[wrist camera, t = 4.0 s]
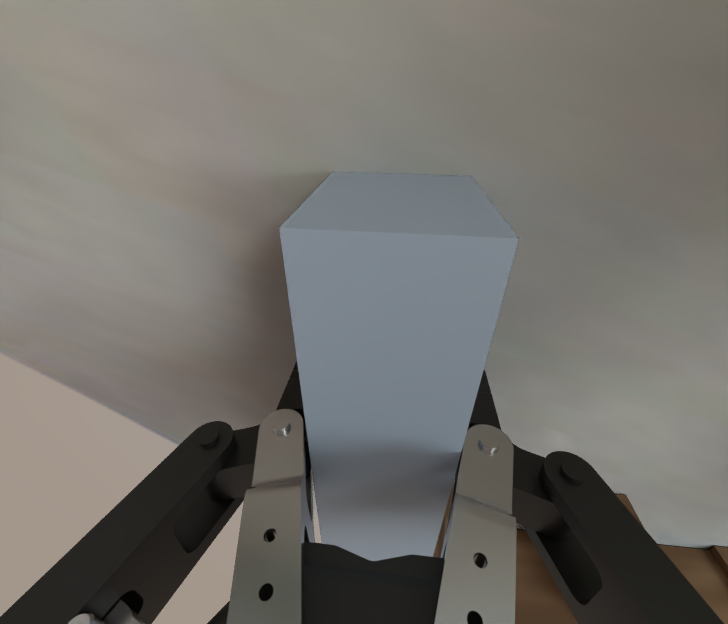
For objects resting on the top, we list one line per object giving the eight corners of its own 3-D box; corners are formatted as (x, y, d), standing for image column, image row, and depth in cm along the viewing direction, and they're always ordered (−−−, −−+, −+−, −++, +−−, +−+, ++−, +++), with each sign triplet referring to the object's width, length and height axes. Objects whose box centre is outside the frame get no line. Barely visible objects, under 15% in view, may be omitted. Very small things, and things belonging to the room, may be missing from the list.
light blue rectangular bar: (332, 171, 10) (279, 227, 6) (471, 175, 10) (519, 238, 5) (345, 461, 18) (326, 572, 14) (420, 469, 18) (424, 586, 13)
